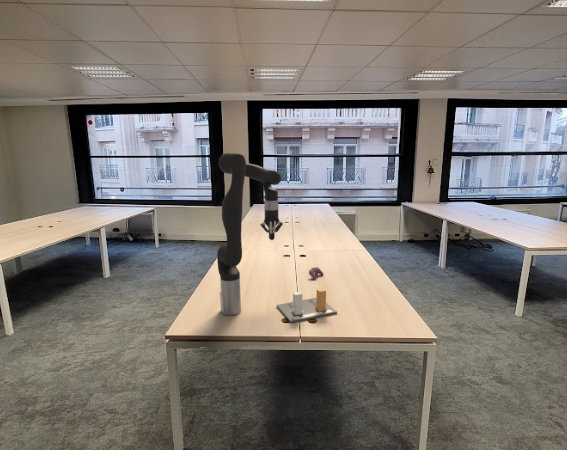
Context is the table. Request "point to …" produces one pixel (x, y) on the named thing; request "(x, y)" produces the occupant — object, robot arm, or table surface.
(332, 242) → the table surface
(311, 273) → the video game controller
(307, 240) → the table surface
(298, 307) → the white slide tab
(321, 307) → the orange tab
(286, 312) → the switch panel
